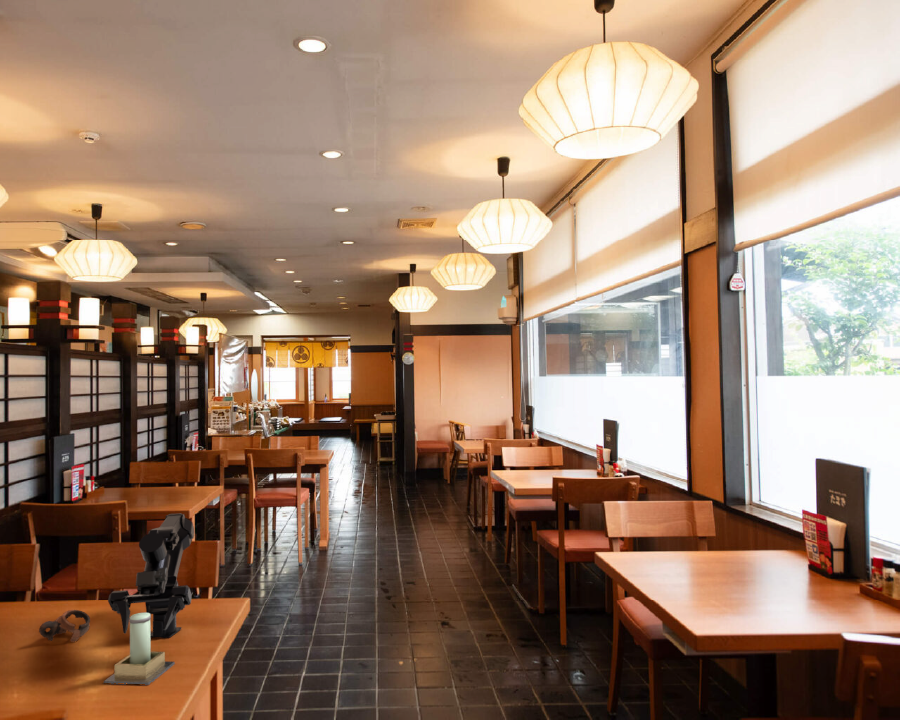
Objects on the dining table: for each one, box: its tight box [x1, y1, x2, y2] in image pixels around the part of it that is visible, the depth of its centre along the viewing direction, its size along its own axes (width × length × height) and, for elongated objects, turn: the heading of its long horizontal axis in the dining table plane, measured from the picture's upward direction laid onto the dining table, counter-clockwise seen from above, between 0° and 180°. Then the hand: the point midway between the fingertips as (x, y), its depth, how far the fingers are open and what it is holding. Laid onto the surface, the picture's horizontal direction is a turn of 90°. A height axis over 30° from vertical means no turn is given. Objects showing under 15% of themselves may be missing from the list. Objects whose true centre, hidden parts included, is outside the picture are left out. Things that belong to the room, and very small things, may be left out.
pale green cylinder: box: [129, 612, 152, 664], centre depth 152 cm, size 5×5×13 cm
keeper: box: [103, 650, 176, 686], centre depth 151 cm, size 11×11×4 cm
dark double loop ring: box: [38, 609, 91, 643], centre depth 173 cm, size 12×10×8 cm
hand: (144, 631), depth 156 cm, fingers open, 9 cm apart
